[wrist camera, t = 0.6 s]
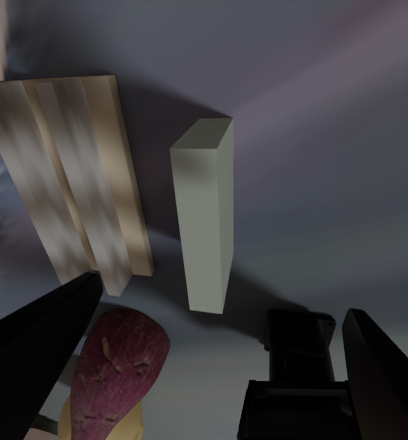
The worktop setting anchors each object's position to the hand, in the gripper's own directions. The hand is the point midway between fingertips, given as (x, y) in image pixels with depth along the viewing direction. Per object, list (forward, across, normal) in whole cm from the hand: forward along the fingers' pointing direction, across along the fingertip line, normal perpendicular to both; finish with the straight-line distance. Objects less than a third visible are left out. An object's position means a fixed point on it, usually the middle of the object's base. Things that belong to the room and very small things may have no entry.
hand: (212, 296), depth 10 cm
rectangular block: (+13, +2, +2) cm, 13 cm away
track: (+13, +14, +3) cm, 19 cm away
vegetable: (+14, +13, +24) cm, 30 cm away
